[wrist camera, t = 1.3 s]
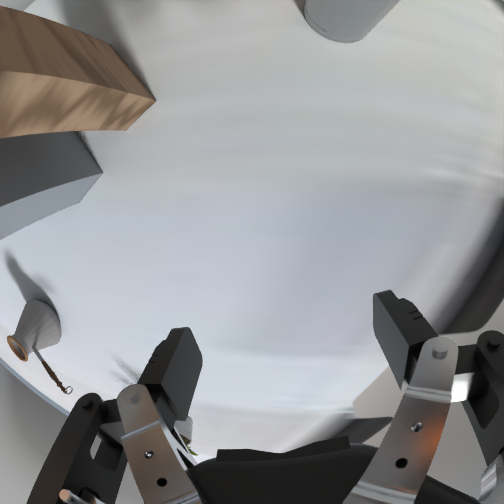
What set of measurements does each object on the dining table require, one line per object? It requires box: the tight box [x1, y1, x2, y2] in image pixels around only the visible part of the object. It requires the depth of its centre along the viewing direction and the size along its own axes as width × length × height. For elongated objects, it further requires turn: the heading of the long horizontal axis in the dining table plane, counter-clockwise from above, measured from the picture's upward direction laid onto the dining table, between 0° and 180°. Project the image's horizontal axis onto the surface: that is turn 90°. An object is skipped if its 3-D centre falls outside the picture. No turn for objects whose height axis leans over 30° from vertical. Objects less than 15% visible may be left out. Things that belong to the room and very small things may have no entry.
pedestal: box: [0, 131, 103, 240], centre depth 25 cm, size 7×12×20 cm, turn 37°
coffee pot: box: [7, 300, 73, 394], centre depth 41 cm, size 21×12×15 cm, turn 71°
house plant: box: [174, 416, 197, 455], centre depth 48 cm, size 14×14×16 cm
